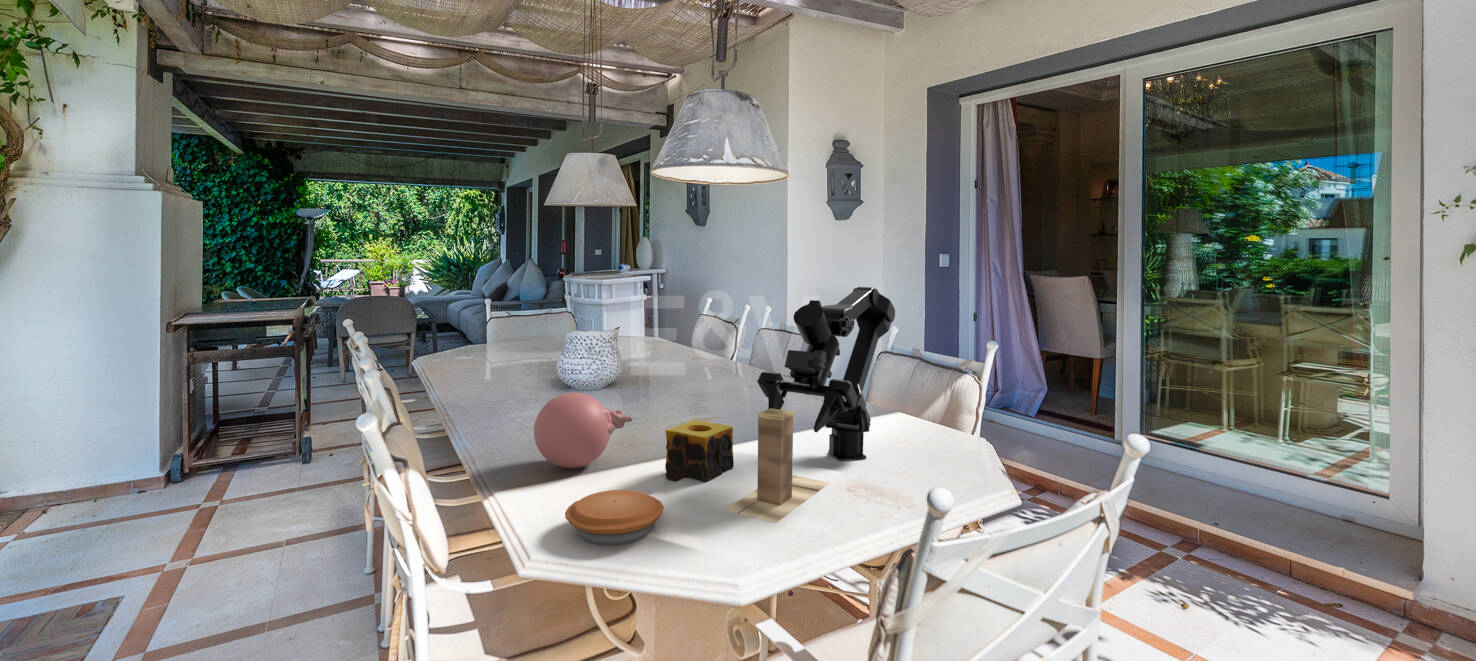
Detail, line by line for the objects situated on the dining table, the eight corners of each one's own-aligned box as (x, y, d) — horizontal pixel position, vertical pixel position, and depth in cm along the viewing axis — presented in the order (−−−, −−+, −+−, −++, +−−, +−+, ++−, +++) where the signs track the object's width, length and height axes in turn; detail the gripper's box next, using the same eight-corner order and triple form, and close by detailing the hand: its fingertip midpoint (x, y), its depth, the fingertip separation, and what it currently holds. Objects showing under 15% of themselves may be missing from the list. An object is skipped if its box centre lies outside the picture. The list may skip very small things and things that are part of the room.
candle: (706, 489, 127) (706, 438, 125) (663, 479, 132) (663, 430, 131) (734, 474, 135) (735, 426, 134) (694, 465, 140) (694, 419, 139)
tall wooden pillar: (769, 492, 122) (770, 408, 120) (792, 497, 119) (793, 411, 117) (756, 500, 118) (757, 413, 116) (780, 505, 115) (781, 417, 113)
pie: (601, 506, 118) (601, 479, 117) (680, 520, 112) (680, 491, 112) (545, 541, 104) (544, 510, 103) (631, 559, 98) (631, 526, 97)
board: (782, 479, 132) (783, 473, 132) (830, 488, 127) (830, 482, 127) (723, 516, 113) (723, 510, 113) (775, 529, 108) (776, 522, 108)
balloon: (635, 475, 134) (634, 399, 132) (530, 480, 130) (528, 403, 128) (632, 452, 149) (631, 384, 147) (538, 456, 145) (536, 387, 143)
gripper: (762, 330, 130) (732, 396, 122) (853, 337, 120) (827, 409, 112) (780, 364, 137) (753, 429, 129) (867, 374, 128) (844, 444, 120)
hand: (791, 427), depth 122 cm, fingers open, 9 cm apart
